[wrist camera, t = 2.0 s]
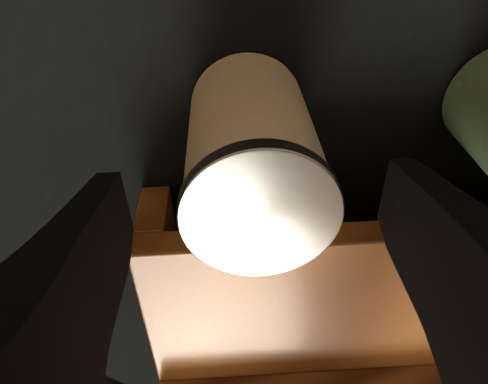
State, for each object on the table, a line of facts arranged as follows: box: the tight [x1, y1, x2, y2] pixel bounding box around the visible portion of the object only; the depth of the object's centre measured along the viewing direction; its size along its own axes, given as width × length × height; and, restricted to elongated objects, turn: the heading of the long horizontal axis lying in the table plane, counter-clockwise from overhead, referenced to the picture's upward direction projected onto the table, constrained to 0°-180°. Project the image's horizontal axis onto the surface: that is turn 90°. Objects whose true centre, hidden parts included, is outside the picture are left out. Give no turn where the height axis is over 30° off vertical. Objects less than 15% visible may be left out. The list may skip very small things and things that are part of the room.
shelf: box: [129, 186, 442, 384], centre depth 19 cm, size 17×9×5 cm, turn 91°
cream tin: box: [176, 52, 345, 277], centre depth 14 cm, size 4×4×6 cm
